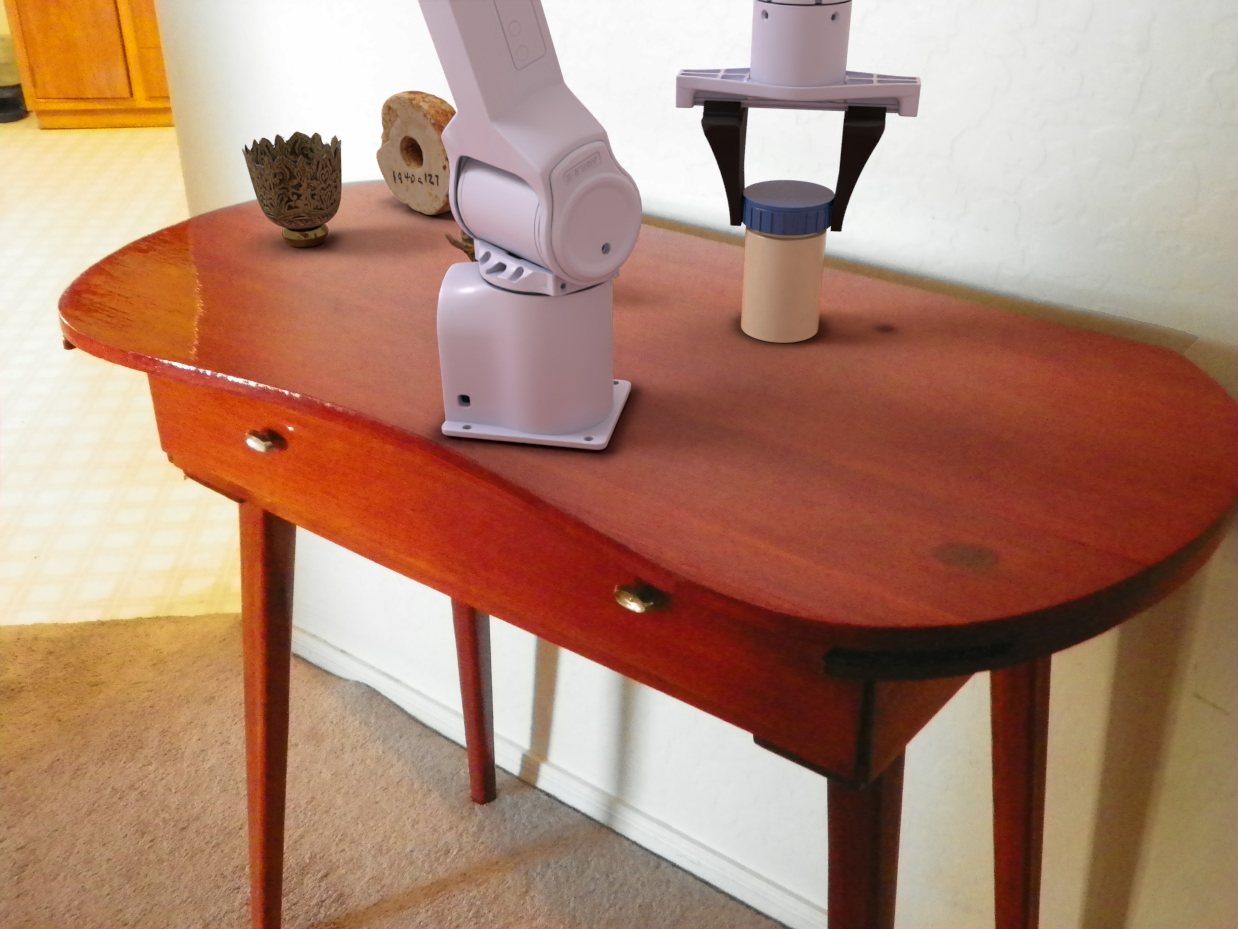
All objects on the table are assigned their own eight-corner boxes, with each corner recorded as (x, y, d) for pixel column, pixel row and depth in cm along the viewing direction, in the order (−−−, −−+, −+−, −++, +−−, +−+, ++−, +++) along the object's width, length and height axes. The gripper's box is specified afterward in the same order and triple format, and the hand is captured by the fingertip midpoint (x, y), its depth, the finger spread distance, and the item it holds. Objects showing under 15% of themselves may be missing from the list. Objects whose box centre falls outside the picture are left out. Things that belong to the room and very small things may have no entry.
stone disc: (484, 217, 97) (476, 97, 92) (450, 227, 95) (439, 105, 90) (412, 191, 104) (401, 78, 99) (378, 200, 101) (365, 85, 96)
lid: (822, 240, 70) (825, 212, 69) (729, 230, 72) (730, 202, 71) (841, 211, 75) (844, 184, 74) (753, 202, 76) (754, 175, 75)
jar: (737, 340, 75) (743, 213, 71) (744, 309, 79) (750, 188, 75) (816, 345, 74) (828, 217, 70) (819, 314, 79) (830, 192, 74)
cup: (239, 246, 91) (221, 146, 87) (309, 221, 97) (295, 126, 92) (303, 264, 88) (287, 161, 84) (372, 237, 93) (360, 139, 89)
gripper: (928, -10, 68) (901, 210, 75) (689, -15, 71) (684, 198, 78) (932, 9, 62) (903, 246, 69) (671, 3, 65) (668, 232, 72)
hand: (787, 223), depth 73 cm, fingers closed on lid, 6 cm apart
